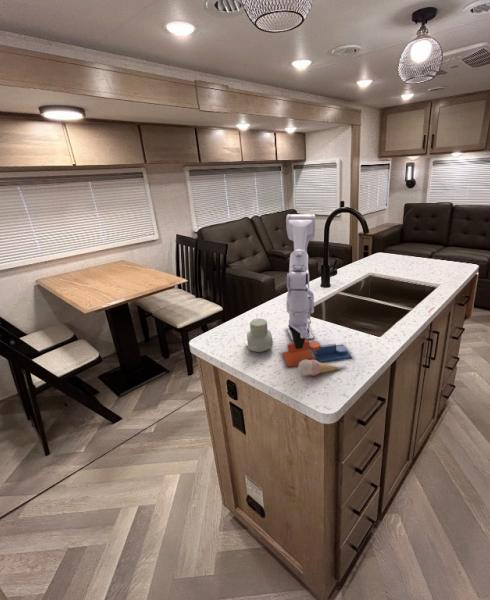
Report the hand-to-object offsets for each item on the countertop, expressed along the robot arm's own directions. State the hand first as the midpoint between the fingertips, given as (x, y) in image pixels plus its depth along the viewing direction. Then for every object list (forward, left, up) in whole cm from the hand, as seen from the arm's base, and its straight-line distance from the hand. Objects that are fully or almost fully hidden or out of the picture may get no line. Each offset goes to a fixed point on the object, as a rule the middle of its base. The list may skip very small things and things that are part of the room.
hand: (298, 346), depth 104 cm
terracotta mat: (0, 0, -5) cm, 5 cm away
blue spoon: (0, +11, -4) cm, 12 cm away
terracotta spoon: (0, +2, -1) cm, 2 cm away
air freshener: (-10, -11, -5) cm, 16 cm away
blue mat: (0, +12, -5) cm, 12 cm away
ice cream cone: (+8, +5, -5) cm, 11 cm away
